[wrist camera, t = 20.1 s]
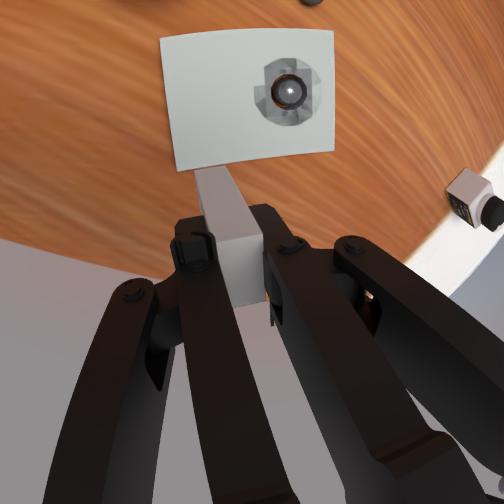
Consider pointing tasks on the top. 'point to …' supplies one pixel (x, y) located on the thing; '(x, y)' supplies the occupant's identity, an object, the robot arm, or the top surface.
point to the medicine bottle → (476, 201)
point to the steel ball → (287, 91)
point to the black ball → (313, 2)
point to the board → (247, 94)
